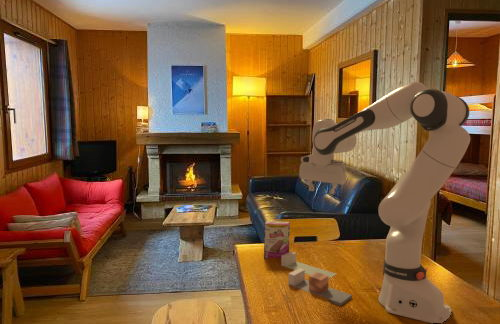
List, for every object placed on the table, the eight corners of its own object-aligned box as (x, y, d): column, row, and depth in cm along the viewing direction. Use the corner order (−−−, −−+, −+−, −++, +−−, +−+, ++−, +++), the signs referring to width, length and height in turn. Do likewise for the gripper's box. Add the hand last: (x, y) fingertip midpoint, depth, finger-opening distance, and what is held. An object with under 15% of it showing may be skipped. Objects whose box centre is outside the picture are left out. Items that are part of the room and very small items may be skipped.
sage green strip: (336, 276, 154) (337, 264, 153) (326, 282, 148) (326, 269, 147) (291, 262, 168) (291, 251, 168) (280, 267, 162) (280, 256, 162)
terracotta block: (328, 289, 140) (328, 275, 139) (320, 293, 136) (321, 280, 136) (316, 285, 143) (316, 272, 143) (308, 289, 140) (309, 276, 139)
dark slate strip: (351, 297, 136) (352, 284, 135) (340, 305, 130) (341, 291, 129) (299, 280, 150) (299, 267, 149) (287, 286, 144) (287, 273, 144)
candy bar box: (263, 259, 172) (264, 223, 170) (264, 255, 177) (264, 220, 175) (289, 260, 171) (289, 224, 169) (289, 256, 176) (289, 221, 174)
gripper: (349, 160, 154) (348, 194, 156) (305, 156, 168) (305, 188, 169) (342, 161, 150) (340, 197, 151) (297, 157, 163) (296, 190, 165)
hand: (321, 192), depth 160 cm, fingers open, 8 cm apart
